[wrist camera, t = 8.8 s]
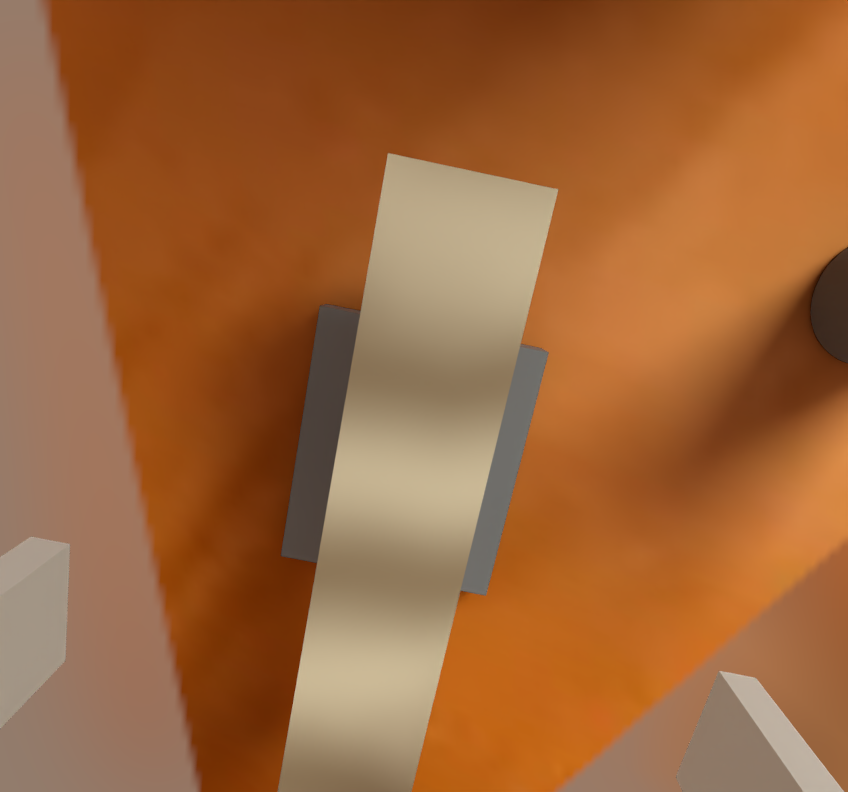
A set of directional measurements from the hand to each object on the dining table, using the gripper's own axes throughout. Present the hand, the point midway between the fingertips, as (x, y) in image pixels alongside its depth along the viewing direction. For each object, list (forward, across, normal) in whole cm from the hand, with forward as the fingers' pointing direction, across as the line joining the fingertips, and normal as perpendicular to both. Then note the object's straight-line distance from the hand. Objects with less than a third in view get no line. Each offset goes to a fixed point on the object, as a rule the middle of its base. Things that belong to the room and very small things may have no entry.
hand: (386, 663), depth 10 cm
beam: (+9, 0, -1) cm, 9 cm away
